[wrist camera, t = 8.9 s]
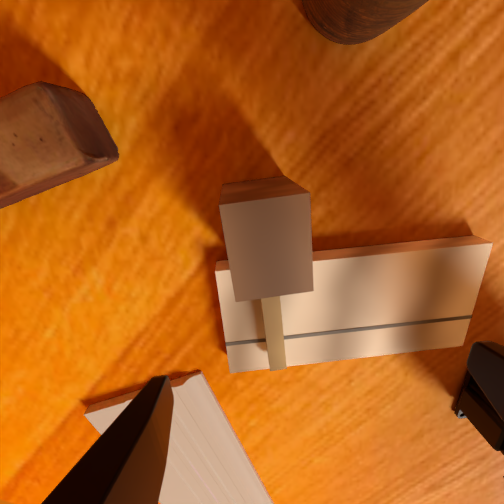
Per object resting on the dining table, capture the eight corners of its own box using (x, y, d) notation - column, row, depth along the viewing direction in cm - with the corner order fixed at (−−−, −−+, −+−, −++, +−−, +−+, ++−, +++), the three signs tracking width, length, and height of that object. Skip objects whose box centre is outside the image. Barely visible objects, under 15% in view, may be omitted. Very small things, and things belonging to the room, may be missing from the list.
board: (473, 235, 20) (493, 243, 18) (448, 332, 23) (463, 346, 22) (216, 261, 19) (215, 271, 17) (230, 358, 22) (229, 373, 21)
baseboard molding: (217, 360, 23) (92, 398, 24) (215, 388, 21) (74, 430, 21) (301, 527, 35) (216, 549, 36) (307, 559, 33) (214, 582, 33)
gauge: (284, 175, 17) (310, 192, 12) (295, 335, 22) (317, 400, 17) (222, 184, 17) (218, 205, 12) (248, 342, 22) (254, 410, 17)
